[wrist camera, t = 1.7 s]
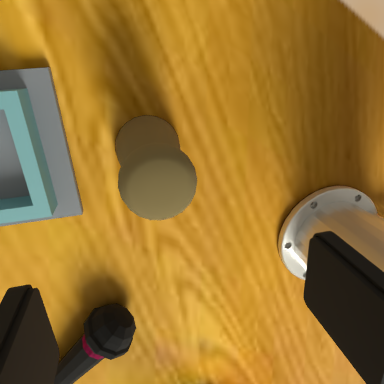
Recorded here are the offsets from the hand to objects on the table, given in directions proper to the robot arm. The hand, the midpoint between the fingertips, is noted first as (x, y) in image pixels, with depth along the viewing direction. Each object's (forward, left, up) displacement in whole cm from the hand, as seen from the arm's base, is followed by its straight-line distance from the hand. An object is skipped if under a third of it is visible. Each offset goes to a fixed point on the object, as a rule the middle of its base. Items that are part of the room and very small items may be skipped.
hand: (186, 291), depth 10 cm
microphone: (+12, +23, -20) cm, 33 cm away
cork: (0, 0, -20) cm, 20 cm away
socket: (+14, -1, -20) cm, 24 cm away
